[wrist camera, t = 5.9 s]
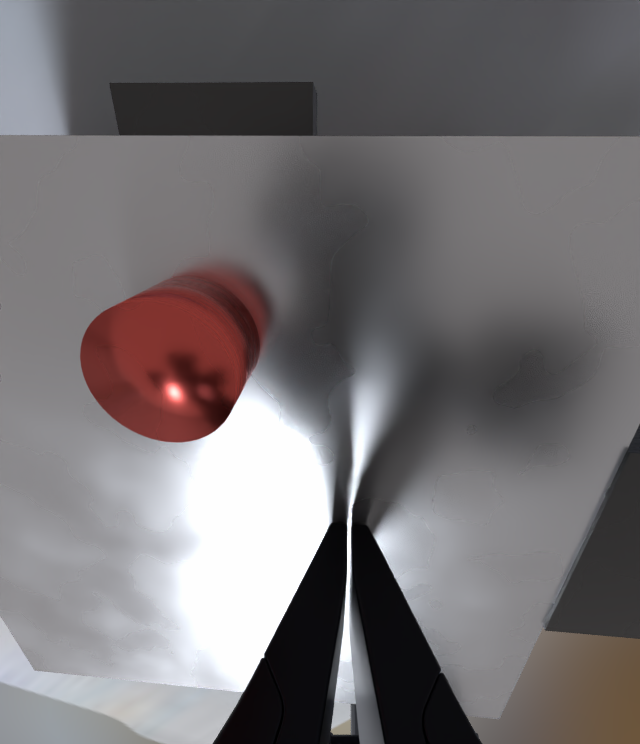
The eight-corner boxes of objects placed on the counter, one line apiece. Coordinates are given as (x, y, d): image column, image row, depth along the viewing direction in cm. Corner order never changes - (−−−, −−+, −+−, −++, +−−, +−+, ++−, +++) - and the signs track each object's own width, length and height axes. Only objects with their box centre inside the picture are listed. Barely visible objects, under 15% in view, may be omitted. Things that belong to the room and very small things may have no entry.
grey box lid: (575, 688, 13) (624, 800, 11) (56, 637, 15) (-3, 727, 12) (912, 145, 6) (1308, 117, 3) (-212, 141, 7) (-501, 119, 5)
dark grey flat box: (426, 517, 21) (465, 683, 14) (156, 501, 22) (65, 650, 15) (500, 130, 13) (688, 64, 6) (60, 129, 14) (-243, 71, 7)
